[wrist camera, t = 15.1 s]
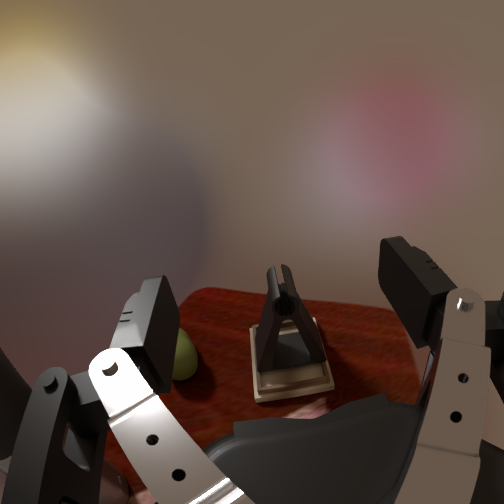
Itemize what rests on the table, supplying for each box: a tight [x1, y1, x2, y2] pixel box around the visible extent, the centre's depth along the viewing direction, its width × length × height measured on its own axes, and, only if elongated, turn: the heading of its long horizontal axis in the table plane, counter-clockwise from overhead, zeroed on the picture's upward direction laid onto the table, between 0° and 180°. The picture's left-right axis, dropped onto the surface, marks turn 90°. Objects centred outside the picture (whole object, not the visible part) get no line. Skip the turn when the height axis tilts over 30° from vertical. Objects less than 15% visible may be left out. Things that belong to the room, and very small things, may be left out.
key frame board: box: [250, 316, 335, 403], centre depth 41 cm, size 10×13×2 cm
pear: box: [172, 328, 198, 381], centre depth 43 cm, size 6×5×10 cm
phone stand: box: [255, 264, 327, 372], centre depth 37 cm, size 9×6×12 cm, turn 92°
